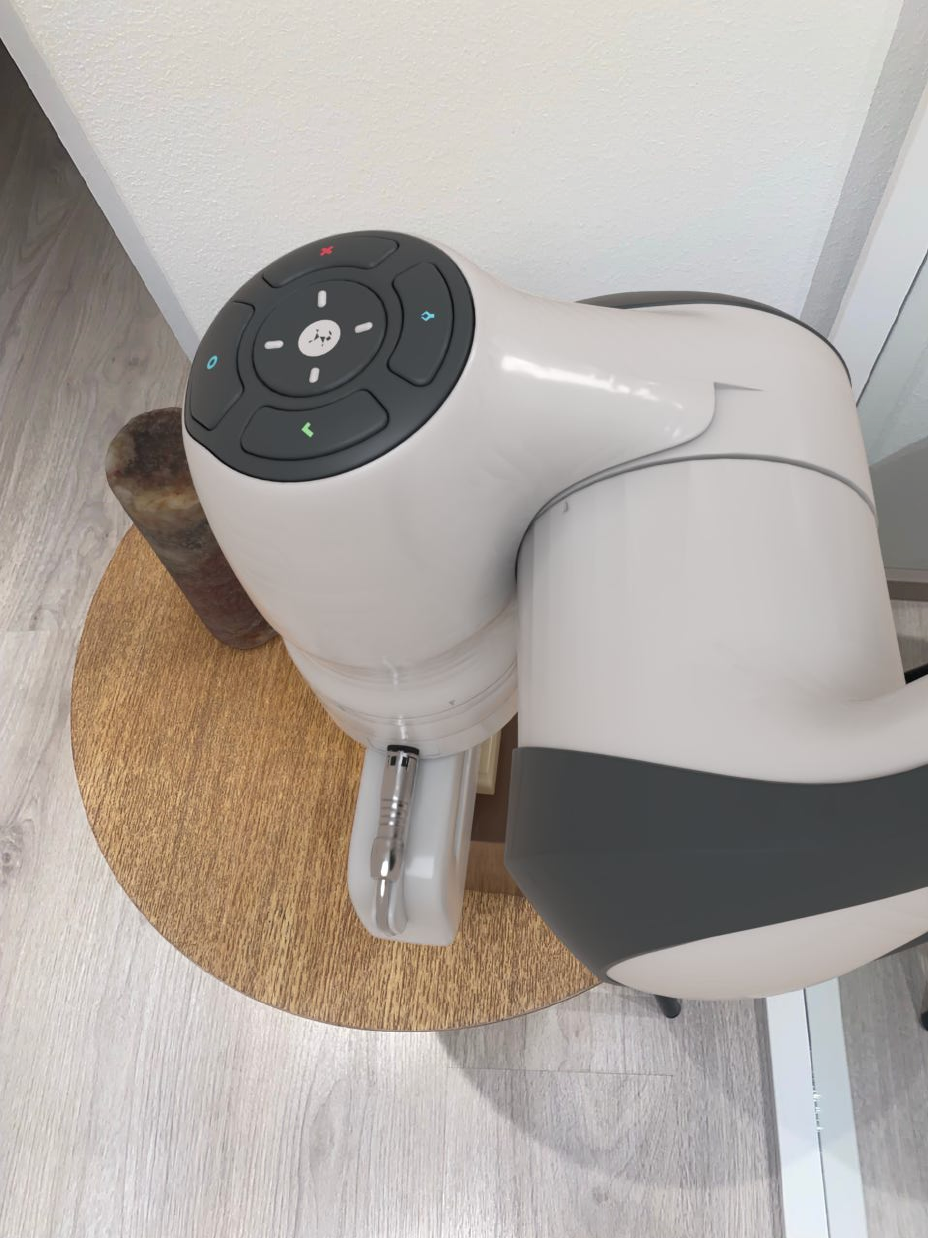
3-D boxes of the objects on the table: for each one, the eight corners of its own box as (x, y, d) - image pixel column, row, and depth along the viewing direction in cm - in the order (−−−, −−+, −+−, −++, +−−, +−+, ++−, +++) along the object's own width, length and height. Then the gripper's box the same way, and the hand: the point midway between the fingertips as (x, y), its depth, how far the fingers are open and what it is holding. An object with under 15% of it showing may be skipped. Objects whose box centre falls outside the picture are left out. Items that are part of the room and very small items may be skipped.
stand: (546, 778, 66) (543, 696, 52) (535, 898, 63) (528, 847, 49) (430, 767, 67) (396, 684, 53) (413, 884, 64) (372, 830, 50)
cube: (502, 718, 50) (497, 691, 46) (494, 795, 48) (488, 772, 44) (425, 712, 50) (414, 684, 47) (414, 787, 49) (402, 764, 45)
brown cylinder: (275, 547, 76) (188, 383, 58) (323, 616, 73) (246, 466, 55) (190, 599, 75) (73, 449, 56) (235, 671, 72) (127, 537, 54)
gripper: (469, 935, 31) (497, 974, 43) (531, 410, 39) (539, 569, 52) (279, 913, 32) (360, 957, 44) (378, 403, 40) (423, 561, 53)
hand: (457, 745), depth 48 cm, fingers closed on cube, 4 cm apart
